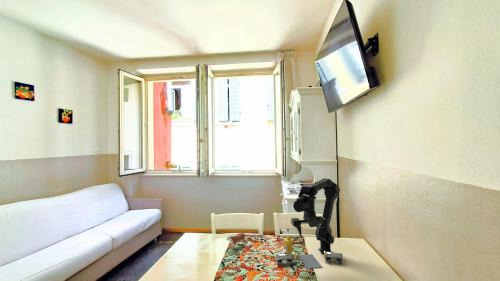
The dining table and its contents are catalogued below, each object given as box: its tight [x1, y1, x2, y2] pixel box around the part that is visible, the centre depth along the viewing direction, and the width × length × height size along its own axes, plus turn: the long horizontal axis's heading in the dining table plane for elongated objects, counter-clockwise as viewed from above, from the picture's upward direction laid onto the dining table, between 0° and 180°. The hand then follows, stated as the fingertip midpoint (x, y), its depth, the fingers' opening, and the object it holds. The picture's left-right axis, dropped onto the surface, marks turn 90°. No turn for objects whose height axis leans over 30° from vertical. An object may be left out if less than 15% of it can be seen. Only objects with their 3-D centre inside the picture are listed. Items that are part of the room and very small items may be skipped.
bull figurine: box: [225, 231, 245, 250], centre depth 144 cm, size 4×13×8 cm, turn 133°
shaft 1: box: [275, 252, 297, 266], centre depth 124 cm, size 10×4×5 cm, turn 96°
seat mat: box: [298, 253, 323, 270], centre depth 125 cm, size 14×8×1 cm, turn 6°
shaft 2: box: [323, 251, 343, 265], centre depth 125 cm, size 9×4×5 cm, turn 76°
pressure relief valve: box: [277, 234, 295, 254], centre depth 131 cm, size 6×12×10 cm, turn 138°
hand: (309, 237), depth 125 cm, fingers open, 9 cm apart
